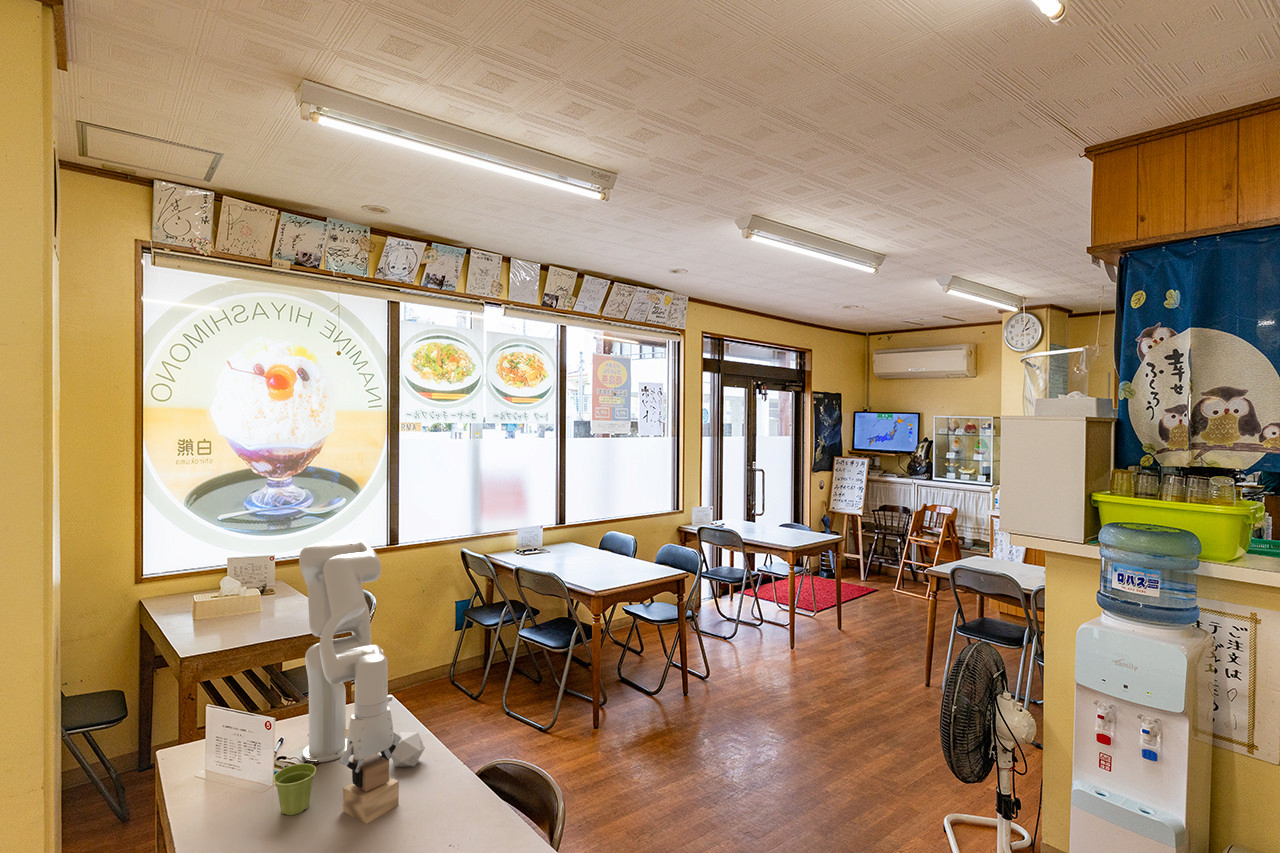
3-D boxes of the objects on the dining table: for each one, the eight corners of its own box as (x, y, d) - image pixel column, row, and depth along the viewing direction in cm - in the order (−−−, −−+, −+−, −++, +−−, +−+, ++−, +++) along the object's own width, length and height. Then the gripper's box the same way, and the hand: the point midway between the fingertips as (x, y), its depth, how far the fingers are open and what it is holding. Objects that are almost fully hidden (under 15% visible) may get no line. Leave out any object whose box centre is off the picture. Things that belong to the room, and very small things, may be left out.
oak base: (343, 812, 160) (343, 787, 160) (375, 794, 168) (375, 770, 168) (366, 824, 156) (366, 799, 156) (398, 805, 163) (398, 781, 163)
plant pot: (272, 824, 155) (272, 788, 155) (273, 803, 163) (273, 768, 163) (316, 813, 159) (316, 778, 159) (315, 793, 168) (315, 759, 168)
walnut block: (353, 782, 161) (353, 762, 161) (376, 772, 166) (376, 752, 166) (365, 791, 158) (365, 771, 157) (389, 781, 162) (389, 761, 162)
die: (403, 778, 176) (426, 743, 179) (376, 758, 178) (400, 724, 181) (412, 773, 184) (435, 740, 187) (387, 755, 186) (410, 721, 189)
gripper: (395, 691, 171) (395, 760, 171) (328, 714, 157) (328, 789, 157) (411, 699, 166) (411, 770, 166) (344, 724, 152) (344, 801, 153)
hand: (371, 779), depth 162 cm, fingers closed on walnut block, 6 cm apart
